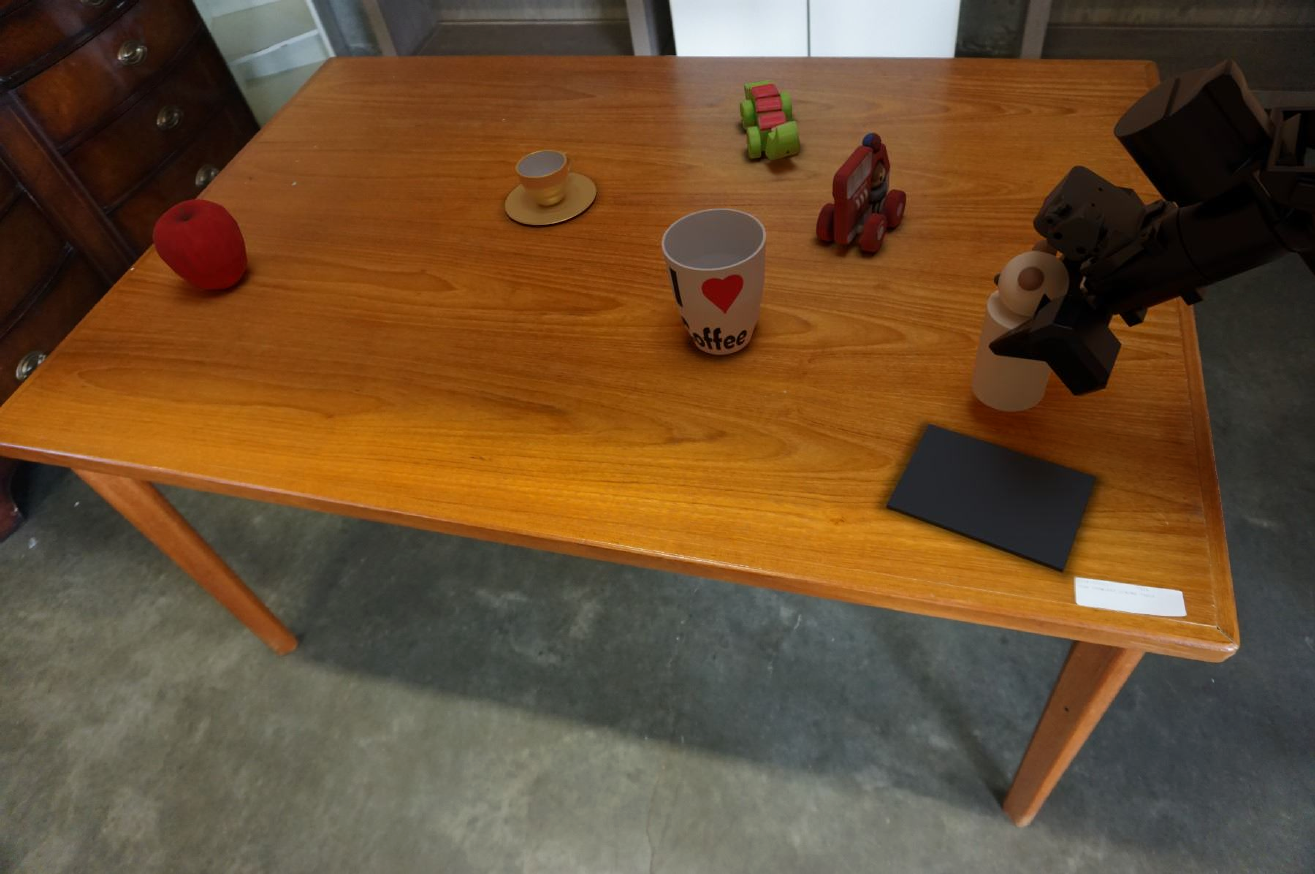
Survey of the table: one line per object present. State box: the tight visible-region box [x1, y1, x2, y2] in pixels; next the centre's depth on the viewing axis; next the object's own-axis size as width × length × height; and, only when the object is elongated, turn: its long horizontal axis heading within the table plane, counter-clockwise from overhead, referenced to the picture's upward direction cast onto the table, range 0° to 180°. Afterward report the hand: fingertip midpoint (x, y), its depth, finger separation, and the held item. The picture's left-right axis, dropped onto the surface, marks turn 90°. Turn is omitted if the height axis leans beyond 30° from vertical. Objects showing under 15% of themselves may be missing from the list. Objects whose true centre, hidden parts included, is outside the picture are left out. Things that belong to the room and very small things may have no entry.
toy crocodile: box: [739, 79, 801, 161], centre depth 109 cm, size 20×7×6 cm, turn 3°
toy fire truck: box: [815, 132, 907, 253], centre depth 91 cm, size 7×12×10 cm, turn 146°
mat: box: [886, 423, 1097, 573], centre depth 69 cm, size 14×10×1 cm
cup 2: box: [661, 208, 767, 356], centre depth 82 cm, size 10×10×12 cm
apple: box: [151, 198, 248, 290], centre depth 102 cm, size 10×10×11 cm
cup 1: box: [504, 149, 597, 226], centre depth 106 cm, size 12×12×5 cm
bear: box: [970, 239, 1069, 413], centre depth 68 cm, size 6×6×14 cm
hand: (1004, 325), depth 68 cm, fingers closed on bear, 6 cm apart
